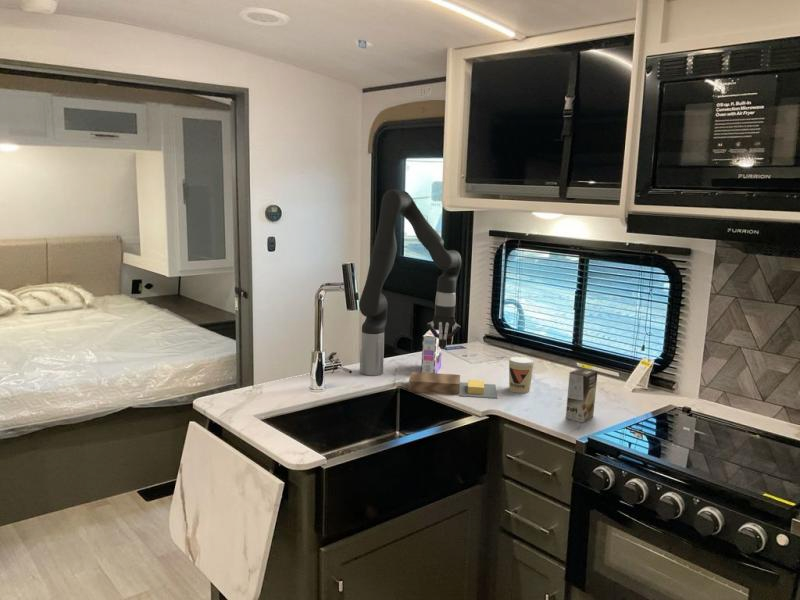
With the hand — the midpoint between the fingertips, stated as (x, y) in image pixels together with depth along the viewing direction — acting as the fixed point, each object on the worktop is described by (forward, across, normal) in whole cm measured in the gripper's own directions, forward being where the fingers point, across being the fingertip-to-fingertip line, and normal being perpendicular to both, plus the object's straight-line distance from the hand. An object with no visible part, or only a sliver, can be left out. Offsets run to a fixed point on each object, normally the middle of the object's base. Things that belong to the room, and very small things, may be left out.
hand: (442, 348), depth 233 cm
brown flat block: (+16, -2, 0) cm, 16 cm away
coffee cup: (+15, +31, +4) cm, 34 cm away
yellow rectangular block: (+13, +14, 0) cm, 19 cm away
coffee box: (+14, +49, -22) cm, 55 cm away
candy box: (+16, -4, +23) cm, 28 cm away
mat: (+15, +15, 0) cm, 21 cm away
